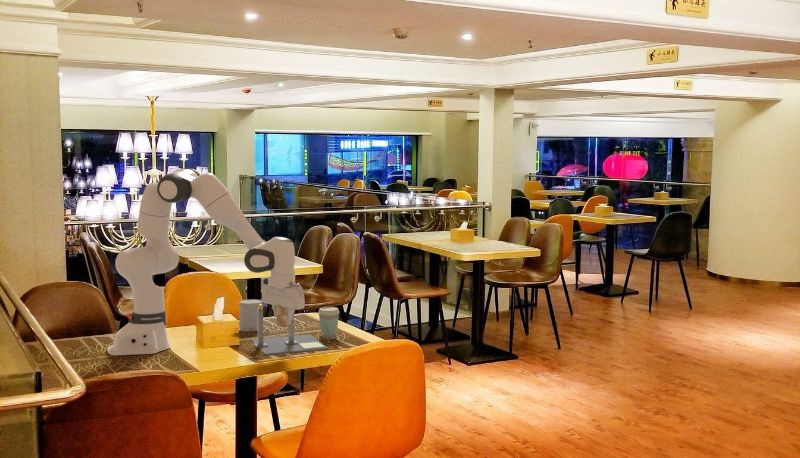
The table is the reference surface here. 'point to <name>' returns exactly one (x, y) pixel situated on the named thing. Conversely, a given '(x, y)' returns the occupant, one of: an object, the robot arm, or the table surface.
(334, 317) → the coffee cup
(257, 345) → the gate
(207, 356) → the table surface
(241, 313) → the grey canister
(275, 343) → the mat
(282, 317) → the block
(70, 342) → the table surface
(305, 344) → the pad
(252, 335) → the table surface
